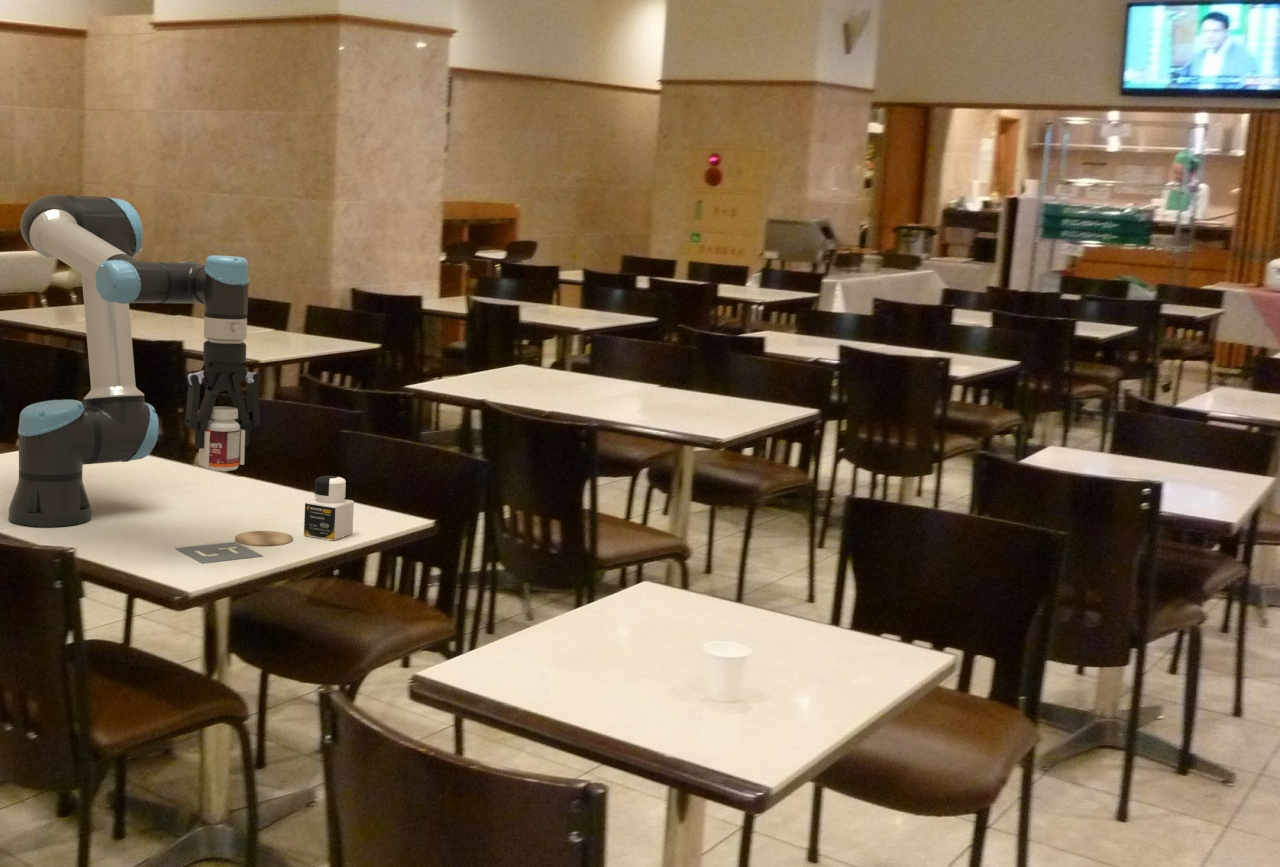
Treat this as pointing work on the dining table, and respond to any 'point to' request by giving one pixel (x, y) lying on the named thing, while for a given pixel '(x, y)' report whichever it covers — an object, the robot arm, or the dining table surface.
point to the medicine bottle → (329, 510)
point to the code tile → (219, 552)
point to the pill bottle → (223, 439)
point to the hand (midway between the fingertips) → (221, 464)
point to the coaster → (263, 538)
